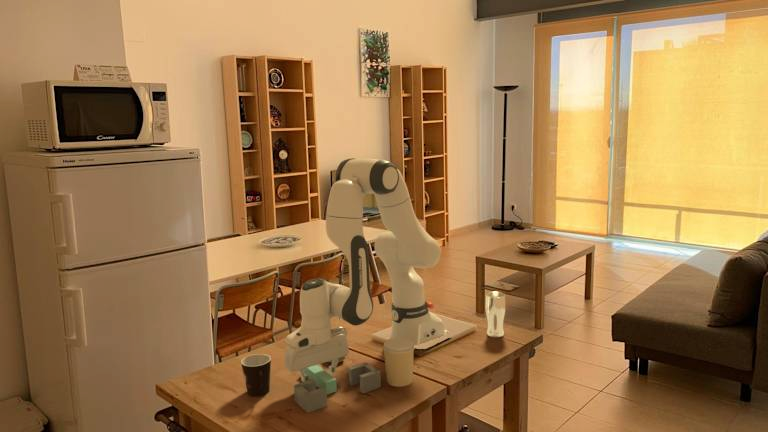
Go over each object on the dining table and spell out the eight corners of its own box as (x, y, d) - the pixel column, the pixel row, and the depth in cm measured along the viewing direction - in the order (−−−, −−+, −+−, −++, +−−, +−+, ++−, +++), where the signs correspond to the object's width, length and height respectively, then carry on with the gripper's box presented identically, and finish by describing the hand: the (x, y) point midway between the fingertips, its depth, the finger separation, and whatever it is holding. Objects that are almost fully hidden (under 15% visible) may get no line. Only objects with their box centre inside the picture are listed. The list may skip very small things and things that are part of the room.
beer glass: (482, 335, 210) (482, 295, 207) (490, 329, 215) (490, 290, 213) (500, 339, 206) (500, 298, 203) (508, 332, 211) (508, 293, 209)
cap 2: (366, 377, 181) (365, 362, 180) (380, 387, 174) (380, 371, 173) (349, 383, 177) (348, 367, 176) (363, 393, 171) (362, 377, 170)
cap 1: (307, 412, 161) (306, 396, 160) (294, 401, 168) (293, 385, 167) (327, 405, 164) (326, 389, 163) (314, 394, 171) (313, 378, 170)
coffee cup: (421, 379, 178) (420, 342, 176) (400, 391, 171) (399, 352, 169) (399, 370, 184) (397, 334, 182) (377, 381, 178) (376, 344, 176)
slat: (303, 375, 184) (302, 363, 184) (313, 372, 186) (312, 360, 185) (326, 395, 171) (325, 382, 170) (336, 392, 173) (336, 379, 172)
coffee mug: (247, 384, 179) (245, 354, 177) (276, 384, 178) (273, 353, 176) (237, 404, 167) (234, 371, 165) (267, 403, 167) (264, 370, 165)
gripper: (341, 322, 184) (343, 363, 186) (280, 338, 172) (283, 382, 175) (351, 328, 179) (353, 370, 181) (290, 344, 167) (292, 389, 170)
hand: (318, 376), depth 178 cm, fingers open, 8 cm apart
